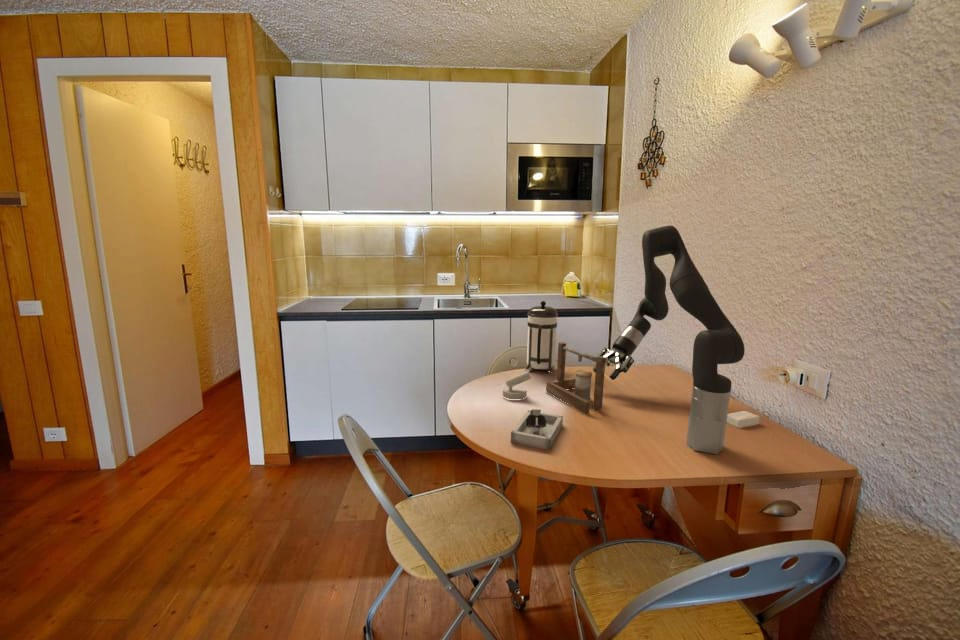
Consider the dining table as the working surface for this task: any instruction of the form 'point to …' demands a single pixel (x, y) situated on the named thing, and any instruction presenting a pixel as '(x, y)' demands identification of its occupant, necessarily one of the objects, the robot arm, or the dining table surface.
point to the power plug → (536, 421)
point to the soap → (742, 419)
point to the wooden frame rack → (562, 384)
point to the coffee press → (541, 337)
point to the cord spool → (583, 384)
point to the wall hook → (513, 390)
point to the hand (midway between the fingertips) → (602, 375)
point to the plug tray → (537, 431)
